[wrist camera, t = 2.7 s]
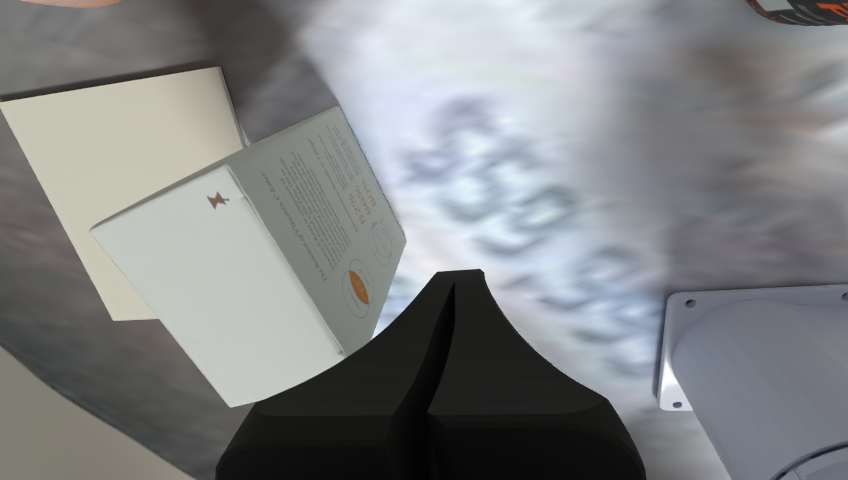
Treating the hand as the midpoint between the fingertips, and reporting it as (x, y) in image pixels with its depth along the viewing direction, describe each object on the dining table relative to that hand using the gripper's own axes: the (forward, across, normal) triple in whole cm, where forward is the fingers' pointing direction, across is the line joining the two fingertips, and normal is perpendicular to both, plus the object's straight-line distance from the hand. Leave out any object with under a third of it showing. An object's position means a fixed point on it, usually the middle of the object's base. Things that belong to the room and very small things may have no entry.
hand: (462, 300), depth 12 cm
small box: (+11, +7, 0) cm, 13 cm away
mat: (+10, +18, 0) cm, 21 cm away
